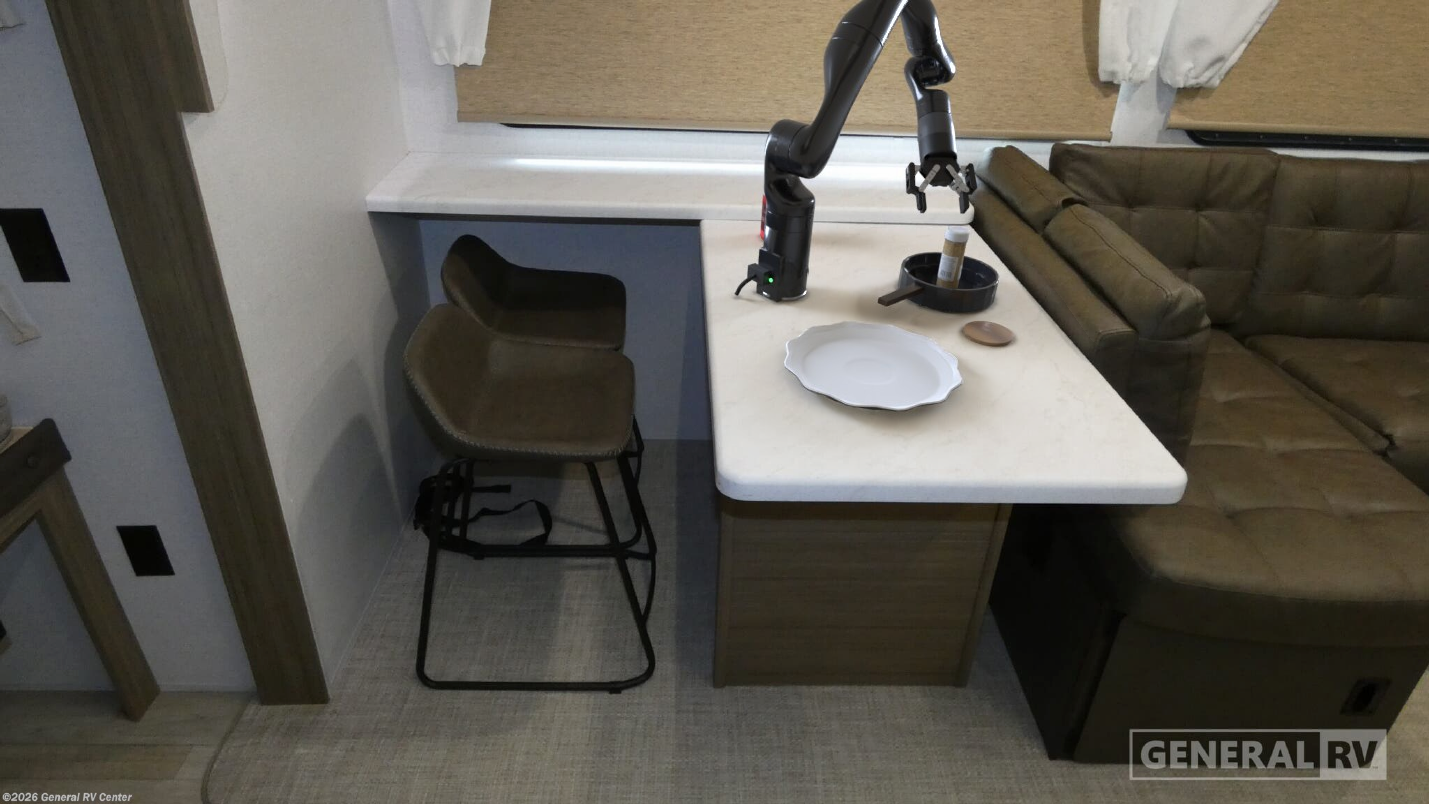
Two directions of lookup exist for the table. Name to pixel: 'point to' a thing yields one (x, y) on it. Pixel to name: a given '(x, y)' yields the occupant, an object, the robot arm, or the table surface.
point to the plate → (872, 366)
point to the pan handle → (900, 295)
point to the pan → (968, 297)
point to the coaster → (988, 333)
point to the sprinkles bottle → (952, 257)
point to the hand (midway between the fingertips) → (943, 211)
